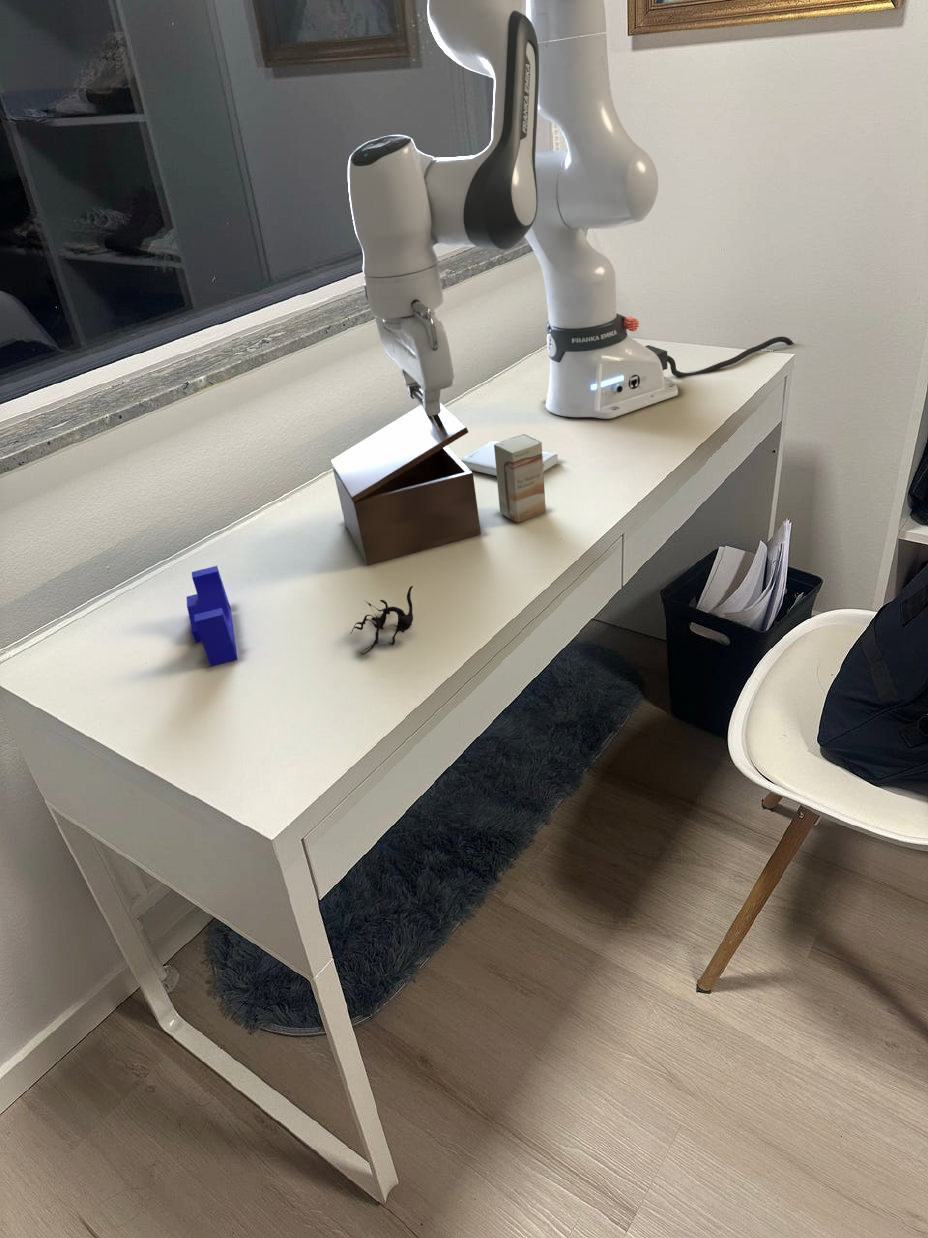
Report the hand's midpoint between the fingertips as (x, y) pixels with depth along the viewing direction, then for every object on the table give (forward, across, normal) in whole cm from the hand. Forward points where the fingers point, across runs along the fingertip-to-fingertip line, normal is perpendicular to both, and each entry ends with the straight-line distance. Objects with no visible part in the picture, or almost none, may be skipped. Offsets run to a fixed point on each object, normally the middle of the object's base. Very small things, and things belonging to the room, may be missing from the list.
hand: (424, 404), depth 113 cm
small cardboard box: (+17, -4, -10) cm, 20 cm away
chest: (+16, 0, +5) cm, 17 cm away
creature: (+16, -24, +15) cm, 33 cm away
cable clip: (+16, -14, +33) cm, 39 cm away
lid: (+5, 0, +4) cm, 7 cm away
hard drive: (+17, +12, -14) cm, 25 cm away
